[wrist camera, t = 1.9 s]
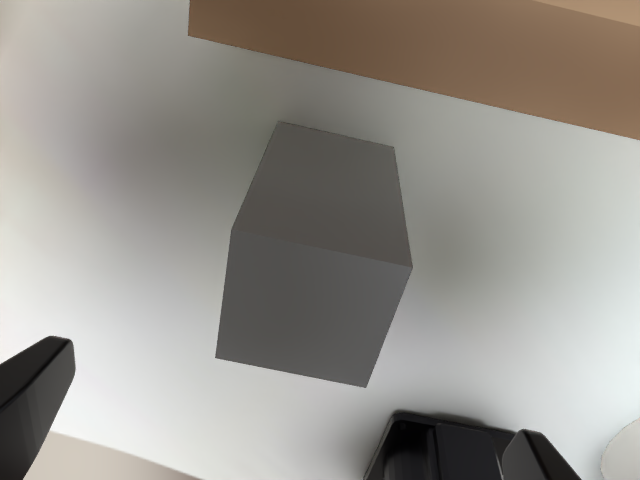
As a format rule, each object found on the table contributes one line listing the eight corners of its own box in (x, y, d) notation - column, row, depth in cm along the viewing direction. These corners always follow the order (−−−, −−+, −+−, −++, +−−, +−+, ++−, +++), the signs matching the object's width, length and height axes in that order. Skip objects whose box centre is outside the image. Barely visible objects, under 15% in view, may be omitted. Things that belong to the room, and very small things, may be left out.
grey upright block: (364, 243, 19) (366, 388, 13) (261, 221, 18) (215, 358, 12) (393, 147, 16) (412, 267, 11) (277, 121, 16) (231, 229, 10)
